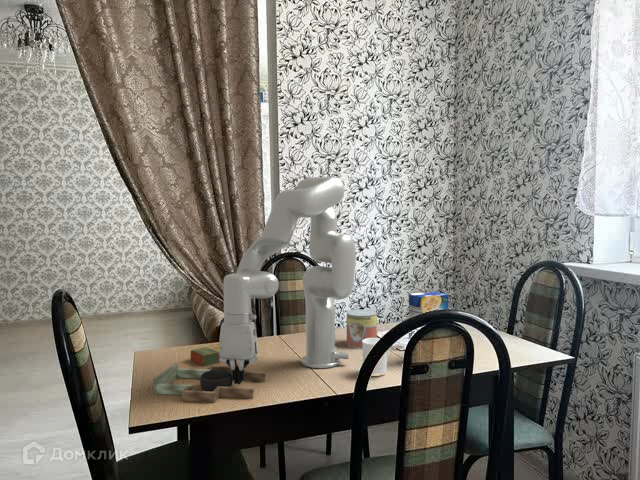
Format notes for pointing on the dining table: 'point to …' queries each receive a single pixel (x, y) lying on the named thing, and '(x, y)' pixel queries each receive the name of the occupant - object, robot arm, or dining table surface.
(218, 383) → the smart speaker
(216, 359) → the carton
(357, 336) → the canned food
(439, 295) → the beverage box
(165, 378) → the wooden flat frame
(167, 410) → the dining table surface
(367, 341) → the white cup
